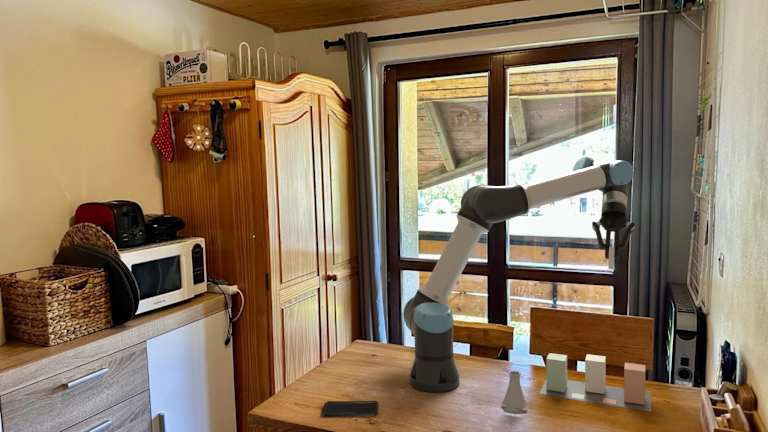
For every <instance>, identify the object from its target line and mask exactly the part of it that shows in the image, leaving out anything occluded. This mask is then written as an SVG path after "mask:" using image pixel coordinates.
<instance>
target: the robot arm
mask: <svg viewBox="0 0 768 432" xmlns="http://www.w3.org/2000/svg"><path fill="white" fill-rule="evenodd" d="M634 174H635V173H634V167H633V165H632V164H631V163H630V162H628V161H626V160H622V159H621V160H619V159H617V160H599V161H596V160H594V159H593V158H592V157H589V156H585V155H584V156H581V157H580V158H579V159H577V161H576V162H575V163H574V166H573V168H572V171H571V172H567V173H564V174H563V173H562V174H560V175H557V176H553V177H549V178H546V179H542V180H538V181H535V182H531V183H528V184H525V185H523V184H520V183H515V184H511V185H502V186H501V185H500V186H499V185H498V186H495V185H486V184H477V185H474V186H472V187H469V188H468V189H466V191H465V192H464V193H463V195H462V196H461V199H460V208H459V211H458V213H457V215H456V218H457V221H458V222H457V225H456V226H455V228H454V230H453V232H452V234H451V235H450V238H449V239H448V241H447V243H446V245H445V247H444V249H443V251H442V253H441V255H440V257H439V258H438V260H437V262H436V263H435V266H434V268H433V270H432V272H431V274H430V276H429V278H428V280H427V282H426V283H425V285H424V286H422V287H419V288H417V291H416V292H415V294H414V296H413V297H411V298H410V299H408V301H407V302H406V303H405V305H404V308H403V315H402V316H403V320H404V322H405V325H406V327H407V328H408V330H409V331H410V332H411V333H412V335H413V336H414V360H413V363H412V366H411V370H410V373H409V385H410V386H411V387H413V388H414V389H416V390H417V391H422V392H427V393H444V392H449V391H452V390H454V389H456V388H458V387H459V386H460V373H459V371H458V368H457V364H456V362H455V358H454V316H453V311H452V309H451V308H450V306H451V305H450V302H449V301H450V300H449V297H450V296H451V294H452V292H453V290H454V288H455V286H456V285H457V282H458V281H459V279H460V278H461V275H462V273H463V271H464V269H465V267H466V266H467V263H468V262H469V260H470V257H471V256H472V254H473V252H474V251H475V248H476V246H477V244H478V242H479V241H480V238H481V237H482V235H484V234H486V233H489V232H490V230H491V228H492V226H493V224H497V223H501V222H504V221H508V220H510V219H513V218H517V217H519V216H523V215H526V214H528V213H529V211H530V210H533V209H535V208H536V209H537V208H538V207H541V206H546V205H550V204H552V203H555V202H559V201H563V200H567V199H569V198H572V197H574V198H575V197H577V196H580V195H583V194H587V193H591V192H594V191H600V192H601V193H602V198H601V199H602V202H601V203H602V204H601V217H600V218H599V221H593V222H591V225H592V227H591V228H592V230H593V231H594V232H595V236H596V239H597V244H598V247H599V250H604V258H605V259H606V260H608V270H615V260H618V259H619V257H620V256H619V254H620V251H625V250H626V248H627V245H628V242H629V240H630V238H631V235H632V233H633V232H634V231H635V229H636V224H635V223H636V222H630V221H629V220H628V218H627V216H628V215H627V209H628V207H627V206H628V186H629V183H630V182H631V181H632V179H633V177H634ZM601 227H602V228H603V229H604V230H605V231H606V232H605V243H604V240H603V237H602V232H601ZM625 227H626V230H625V233H624V235H623V238H622V240H621V242H620V235H621V234H620V232H621V231H622V230H623V229H624V228H625ZM612 232H613V233H614V246H611V237H612V236H611V234H612Z"/></svg>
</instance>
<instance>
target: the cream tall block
mask: <svg viewBox="0 0 768 432" xmlns="http://www.w3.org/2000/svg"><path fill="white" fill-rule="evenodd" d="M606 358H607V356H604V355H595V354H588V353H587V354H586V356H585V360H584V361H585V362H584V364H585V365H584V367H585V368H584V371H585V372H584V382H585V391H587V392H594V393H601V394H604V393H605V386H606V371H607V370H606V369H607V368H606V367H607V365H606V363H607V362H606V361H607V360H606Z"/></svg>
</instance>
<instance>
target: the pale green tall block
mask: <svg viewBox="0 0 768 432" xmlns="http://www.w3.org/2000/svg"><path fill="white" fill-rule="evenodd" d="M545 361H546V365H545V366H546V368H545V372H546V378H545V379H546V390H552V391H559V392H565V391H566V388H567V380H568V355H567V354H559V353H551V352H549V353H548V355H547V356H546V360H545Z"/></svg>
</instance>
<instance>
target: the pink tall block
mask: <svg viewBox="0 0 768 432" xmlns="http://www.w3.org/2000/svg"><path fill="white" fill-rule="evenodd" d="M623 370H624V371H623V382H624V384H623V388H624V402H629V403H636V404H642V405H645V391H646V364H640V363H639V364H638V363H632V362H631V363H630V362H624V369H623Z"/></svg>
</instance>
